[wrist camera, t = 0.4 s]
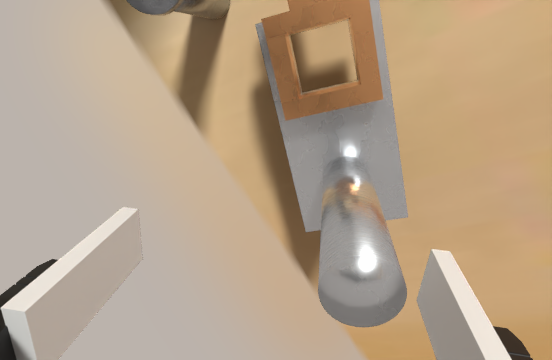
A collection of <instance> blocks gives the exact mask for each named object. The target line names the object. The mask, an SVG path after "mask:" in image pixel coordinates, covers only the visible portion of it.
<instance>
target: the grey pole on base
mask: <svg viewBox="0 0 552 360" xmlns="http://www.w3.org/2000/svg"><path fill="white" fill-rule="evenodd" d="M288 5H289V9H290V11H288V12H285V13H281V14H278V15H274V16H271V17H267V18H264V19H261V20H262V23H258V24H255V25H256V30H257V34H258V38H259V42H260V46H261V50H262V54H263V58H264V62H265V66H266V71H267V75H268V79H269V83H270V87H271V91H272V95H273V99H274V103H275V108H276V112H277V116H278V120H279V124H280V128H281V132H282V136H283V140H284V144H285V149H286V153H287V157H288V161H289V165H290V169H291V173H292V177H293V181H294V185H295V190H296V194H297V198H298V202H299V206H300V210H301V214H302V218H303V222H304V226H305V231H306V232H311V231H318V230H321V238H320V261H319V285H318V294H319V299H320V302H321V304H322V306H323V308H324V309H325V310H326V312H327V313H328V314H329V315H331V316H332V317H333V318H334V319H336V320H338V321H339V322H341V323H344V324H347V325H350V326H355V327H372V326H377V325H381V324H383V323H386V322H388V321H389V320H391V319H392V318H394V317H395V316H396V315H397V314H398V313H399V312H400V311H401V309H402V308H403V306H404V304H405V301H406V297H407V288H406V284H405V281H404V278H403V274H402V271H401V268H400V265H399V262H398V259H397V256H396V252H395V249H394V246H393V243H392V240H391V237H390V234H389V230H388V227H387V224H386V221H385V220H392V219H399V218H406V217H408V213H407V205H406V198H405V190H404V183H403V175H402V168H401V161H400V153H399V146H398V138H397V131H396V123H395V116H394V108H393V101H392V94H391V86H390V79H389V71H388V64H387V56H386V49H385V42H384V34H383V27H382V19H381V12H380V4H379V0H288ZM346 20H348V26H349V32H350V38H351V44H352V50H353V56H354V63H355V69H356V75H357V80H354V81H350V82H346V83H341V84H337V85H333V86H329V87H324V88H320V89H316V90H312V91H307V92H303V93H302V88H301V84H300V79H299V75H298V70H297V65H296V61H295V56H294V51H293V47H292V42H291V38H290V36H291V35H294V34H298V33H302V32H305V31H309V30H313V29H316V28H320V27H324V26H327V25H331V24H335V23H339V22H342V21H346Z"/></svg>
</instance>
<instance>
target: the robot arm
mask: <svg viewBox="0 0 552 360" xmlns="http://www.w3.org/2000/svg"><path fill="white" fill-rule="evenodd" d="M142 258H143V257H142V245H141V233H140V222H139V210H138V209H134V208H127V207H122V208H121V209H120V210H118V211H117V212H116V213H115V214H114V215H112V216H111V217H110V218H109V219H108V220H106V221H105V222H104V223H103V224H102V225H100V226H99V227H98V228H97V229H96V230H94V231H93V232H92V233H91V234H89V235H88V236H87V237H86V238H85V239H83V240H82V241H81V242H80V243H78V244H77V245H76V246H75V247H74V248H72V249H71V250H70V251H69V252H68V253H67V254H65V255H64V256H63V257H61V258H60V259H59V260H55V259H52V260H49V261H47V262H45V263H43V264H41V265H39V266H37V267H36V268H35V269H33V270H32V271H31V272H29V273H28V274H27V275H26V277H23V278H22V279H21V280H19V281H18V282H17V283H16V285H13V286H12V287H10V288H9V289H8V290H7V291H5V292H4V293H3V294H1V295H0V360H58V359H59V358H60V357H61V356H62V354H63V353H64V352H65V351H66V350H67V349H68V347H69V346H70V345H71V344H72V343H73V341H74V340H75V339H76V338H77V337H78V335H79V334H80V333H81V332H82V331H83V329H84V328H85V327H86V326H87V325H88V323H89V322H90V321H91V320H92V319H93V318H94V316H95V315H96V314H97V313H98V312H99V310H100V309H101V308H102V307H103V306H104V304H105V303H106V302H107V301H108V300H109V298H110V297H111V296H112V295H113V294H114V292H115V291H116V290H117V289H118V288H119V286H120V285H121V284H122V283H123V282H124V281H125V279H126V278H127V277H128V276H129V275H130V273H131V272H132V271H133V270H134V269H135V267H136V266H137V265H138V264H139V263H140V261H141V260H142ZM417 303H418V306H419V309H420V312H421V315H422V318H423V321H424V324H425V327H426V330H427V333H428V336H429V338H430V341H431V344H432V347H433V350H434V353H435V356H436V359H437V360H533V359H532V358H530V354H529V353H528V351H527V350H526V348H525V346H524V345H523V343H522V342H521V341H520V340H519V339H518V338H517V337H516V336H515V335H514V334H513V333H512V332H511V331H509V330H508V329H507V328H501V327H494V326H492V324H491V323H490V321H489V319H488V317H487V315H486V314H485V312H484V310H483V308H482V307H481V305H480V303H479V301H478V300H477V298H476V296H475V294H474V293H473V291H472V289H471V287H470V286H469V284H468V282H467V280H466V279H465V277H464V275H463V273H462V272H461V270H460V268H459V266H458V265H457V263H456V261H455V259H454V258H453V256H452V254H451V252H450V251H442V250H435V249H431V252H430V255H429V259H428V262H427V266H426V269H425V273H424V276H423V280H422V283H421V286H420V290H419V293H418V297H417Z"/></svg>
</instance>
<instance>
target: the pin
mask: <svg viewBox="0 0 552 360" xmlns="http://www.w3.org/2000/svg"><path fill="white" fill-rule="evenodd" d="M127 2H128V3H129V4H130V5H131V6H132V7H134V8H135V9H137V10H138V11H140V12H143V13H146V14H151V15H166V14H169V13H171V12H173V11H175V12H180V13H185V14H190V15H195V16H200V17H204V18H209V19H219V18H221V17H223V16H224V15H225V14H226V13H227V11H228V9H229V6H230V0H127Z"/></svg>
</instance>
